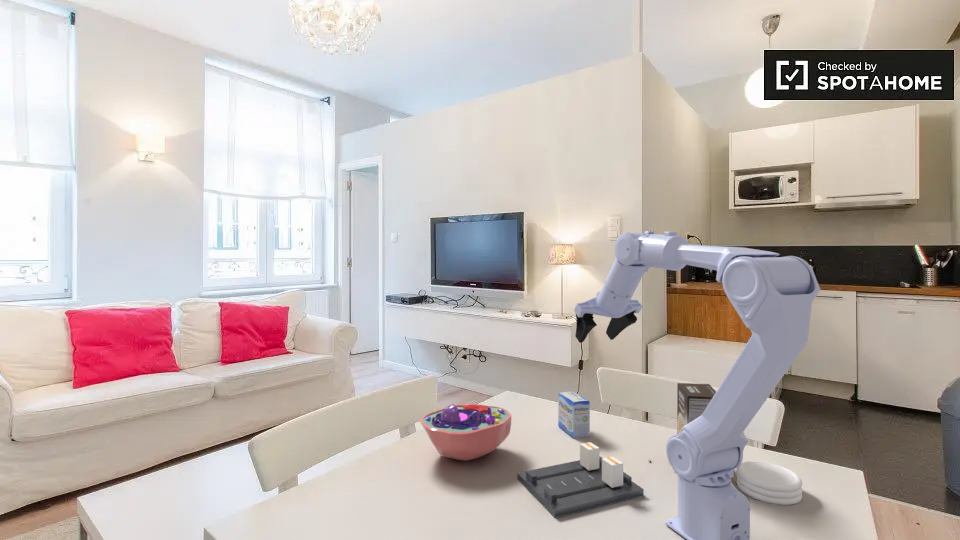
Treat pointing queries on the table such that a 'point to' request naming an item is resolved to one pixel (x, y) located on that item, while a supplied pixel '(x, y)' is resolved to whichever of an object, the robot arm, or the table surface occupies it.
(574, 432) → the medicine box
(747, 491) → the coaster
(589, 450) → the far fader
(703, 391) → the coffee box
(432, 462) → the table surface
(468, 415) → the cell model
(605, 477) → the near fader
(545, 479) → the console
